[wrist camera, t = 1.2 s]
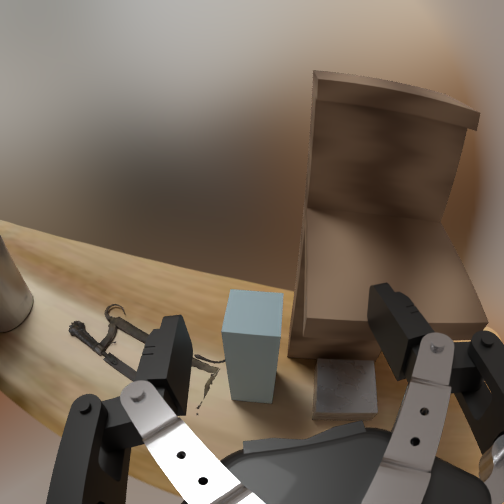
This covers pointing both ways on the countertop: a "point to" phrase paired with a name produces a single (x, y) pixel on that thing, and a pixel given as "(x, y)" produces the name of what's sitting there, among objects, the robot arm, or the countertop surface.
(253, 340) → the block
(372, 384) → the grey square block
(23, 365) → the countertop surface
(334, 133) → the brown tall blocky piece
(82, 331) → the hacksaw
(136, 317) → the countertop surface
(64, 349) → the countertop surface
